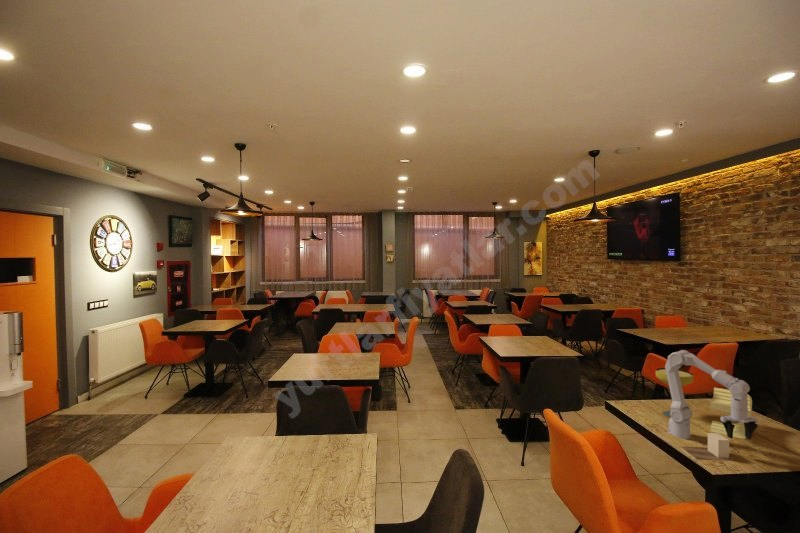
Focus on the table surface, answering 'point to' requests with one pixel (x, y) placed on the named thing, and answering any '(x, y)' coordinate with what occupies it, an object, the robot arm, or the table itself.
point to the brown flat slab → (704, 454)
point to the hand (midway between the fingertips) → (738, 437)
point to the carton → (718, 445)
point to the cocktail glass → (684, 377)
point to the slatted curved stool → (724, 404)
